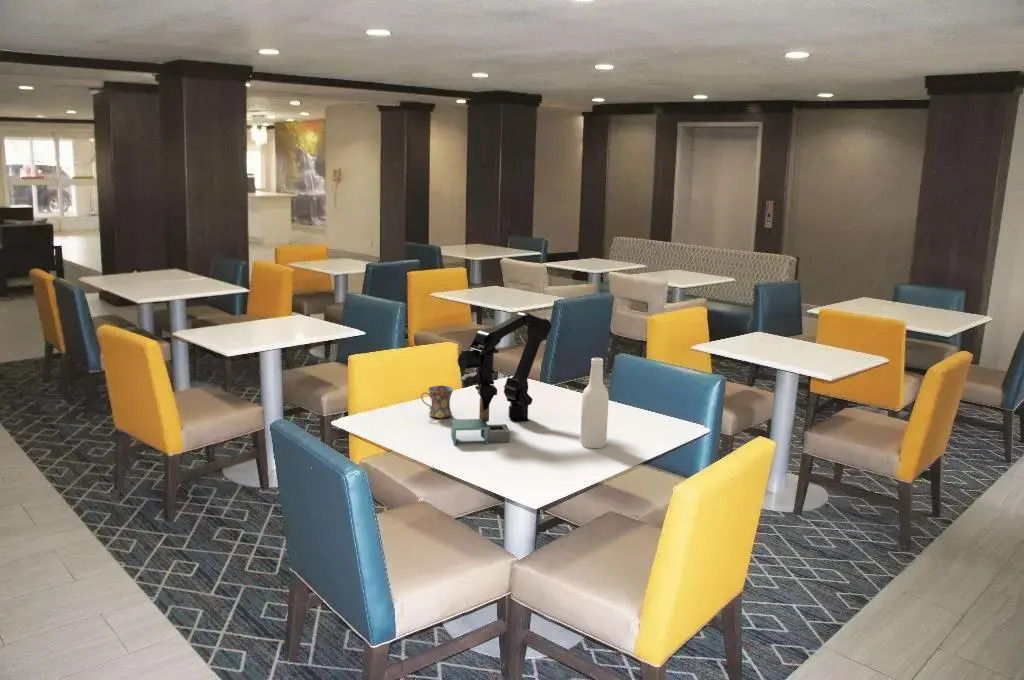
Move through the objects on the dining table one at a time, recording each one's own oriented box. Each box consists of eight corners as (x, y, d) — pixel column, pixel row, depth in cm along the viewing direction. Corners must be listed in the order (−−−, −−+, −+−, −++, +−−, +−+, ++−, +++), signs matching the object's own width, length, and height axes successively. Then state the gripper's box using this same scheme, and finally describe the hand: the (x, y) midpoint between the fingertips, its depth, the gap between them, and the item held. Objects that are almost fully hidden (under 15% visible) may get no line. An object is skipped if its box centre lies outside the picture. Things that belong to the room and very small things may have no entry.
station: (505, 434, 291) (505, 418, 289) (510, 443, 281) (510, 426, 280) (451, 436, 287) (451, 419, 286) (454, 445, 278) (454, 428, 277)
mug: (450, 412, 316) (451, 385, 314) (454, 419, 308) (455, 391, 305) (419, 413, 314) (419, 386, 311) (422, 420, 305) (422, 392, 303)
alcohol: (609, 448, 279) (613, 361, 273) (583, 449, 277) (587, 361, 271) (602, 440, 287) (606, 355, 281) (577, 441, 286) (581, 356, 280)
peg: (488, 419, 301) (488, 397, 300) (489, 422, 298) (490, 400, 296) (478, 419, 301) (479, 398, 299) (479, 422, 297) (480, 400, 296)
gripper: (460, 360, 303) (459, 401, 306) (465, 372, 285) (465, 416, 288) (490, 360, 305) (489, 401, 308) (498, 372, 287) (496, 415, 290)
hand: (484, 408), depth 298 cm, fingers closed on peg, 3 cm apart
